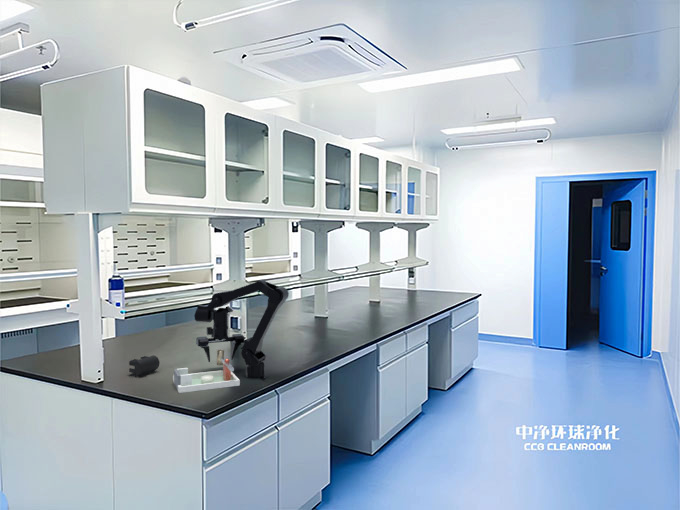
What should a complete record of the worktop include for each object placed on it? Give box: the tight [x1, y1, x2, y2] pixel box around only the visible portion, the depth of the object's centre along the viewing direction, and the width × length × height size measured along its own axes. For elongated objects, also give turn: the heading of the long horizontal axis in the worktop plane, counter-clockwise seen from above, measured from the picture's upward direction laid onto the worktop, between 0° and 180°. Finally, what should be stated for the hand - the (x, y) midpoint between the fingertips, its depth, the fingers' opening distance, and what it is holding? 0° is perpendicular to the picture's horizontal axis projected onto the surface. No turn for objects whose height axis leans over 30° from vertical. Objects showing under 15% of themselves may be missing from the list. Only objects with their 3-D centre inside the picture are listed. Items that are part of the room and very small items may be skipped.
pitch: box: [172, 367, 241, 394], centre depth 186 cm, size 22×16×6 cm
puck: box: [201, 375, 213, 384], centre depth 186 cm, size 4×4×2 cm
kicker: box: [216, 348, 235, 381], centre depth 191 cm, size 3×22×9 cm, turn 26°
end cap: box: [128, 355, 160, 378], centre depth 200 cm, size 10×7×7 cm
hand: (220, 360), depth 200 cm, fingers open, 9 cm apart
